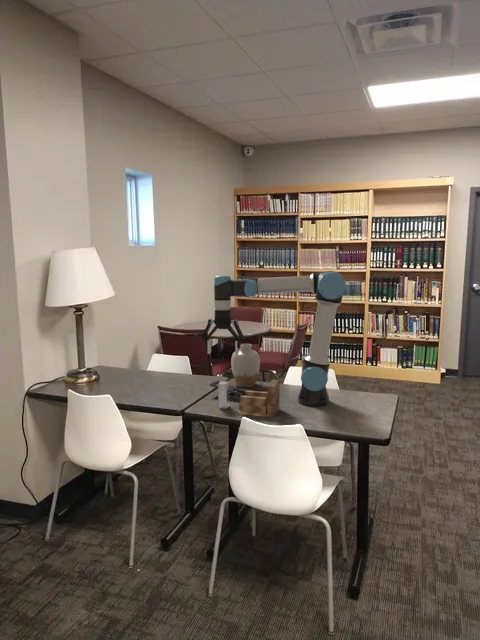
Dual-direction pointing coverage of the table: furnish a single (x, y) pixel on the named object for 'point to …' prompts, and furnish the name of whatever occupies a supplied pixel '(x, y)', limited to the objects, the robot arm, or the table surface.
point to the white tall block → (223, 394)
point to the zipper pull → (232, 391)
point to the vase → (245, 366)
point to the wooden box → (261, 401)
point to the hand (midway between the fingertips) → (223, 354)
